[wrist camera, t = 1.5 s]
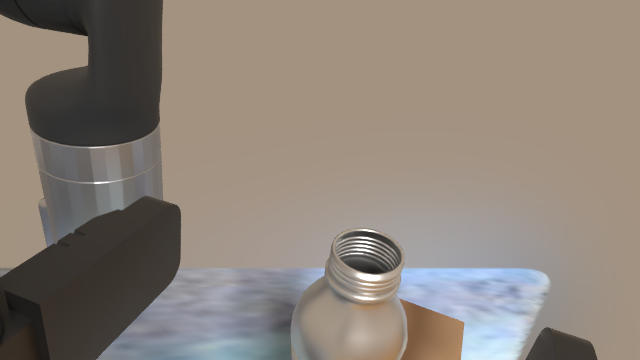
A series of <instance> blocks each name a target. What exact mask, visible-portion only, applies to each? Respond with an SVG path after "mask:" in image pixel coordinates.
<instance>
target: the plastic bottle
mask: <svg viewBox="0 0 640 360" xmlns="http://www.w3.org/2000/svg"><path fill="white" fill-rule="evenodd" d="M403 265H404V253H403V250H402V248H401V246H400V245H399V244H398V243H397V242H396V241H395V240H394V239H392V238H391V237H389V236H387V235H386V234H384V233H381V232H379V231H376V230H372V229H365V228H357V229H350V230H346V231H344V232H342V233H340V234H339V235H338V236H337V237H336V238H335V240H334V241H333V243H332V246H331V252H330V257H329V259H328V260H327V263H326V267H325V275H324V276H323V277H321V278H320V279H319V280H317V281H316V282H315V283H313V284H312V285H311V286H309V288H308V289H307V290H306V291H305V292H304V293H303V295H302V297H301V298H300V300H299V301H298V303H297V305H296V307H295V309H294V311H293V315H292V322H291V360H400V359H401V357H402V355H403V353H404V351H405V349H406V345H407V340H408V335H407V317H406V314H405V311H404V308H403V306H402V304H401V302H400V300H399V298H398V296H397V294H396V293H397V292H398V288H399V285H400V281H401V272H402V268H403Z"/></svg>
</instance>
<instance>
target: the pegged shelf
mask: <svg viewBox="0 0 640 360" xmlns="http://www.w3.org/2000/svg"><path fill="white" fill-rule="evenodd" d="M399 300H400V302H401V304H402V306H403V308H404V311H405V314H406V317H407V335H408V340H407V345H406V349H405V351H404V353H403V355H402V357H401V359H400V360H461V351H462V340H463V330H464V322H462V321H459V320H457V319H454V318H451V317H448V316H446V315H443V314H440V313H437V312H435V311H432V310H429V309H426V308H424V307H421V306H418V305H415V304H413V303H410V302H407V301H404V300H402V299H399Z"/></svg>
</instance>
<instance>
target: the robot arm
mask: <svg viewBox="0 0 640 360" xmlns="http://www.w3.org/2000/svg"><path fill="white" fill-rule="evenodd" d="M162 10H163V0H0V14H1V15H3V16H5V17H7V18H9V19H11V20H14V21H17V22H20V23H23V24H25V25H29V26H32V27H37V28H42V29H49V30H54V31H60V32H66V33H72V34H77V35H84V36H88V44H89V54H88V57H89V58H88V66H85V67H79V68H74V69H69V70H64V71H59V72H56V73H53V74H50V75H47V76H45V77H42V78H41V79H39V80H37V81H35V82H34V83H33V84H32V85H31V86H30V87H29V88H28V90H27V92H26V97H25V103H26V110H27V115H28V120H29V125H30V130H31V135H32V140H33V145H34V150H35V155H36V159H37V163H38V168H39V173H40V178H41V183H42V188H43V193H44V198H43V199H41V200H40V202H39V211H40V216H41V220H42V225H43V230H44V234H45V239H46V244H47V248H46V249H44V250H42V251H41V252H39V253H38V254H36V255H35V256H33V257H32V258H30V259H28V260H27V261H25V262H24V263H22V264H21V265H19V266H18V267H16V268H14V269H13V270H11V271H10V272H8V273H7V274H5V275H4V276H2V277H0V360H96V359H97V358H98V357H99V356H100V355H101V353H102V352H103V351H104V350H105V349H106V348H107V347H108V346H109V345H110V344H111V343H112V342H113V341H114V340H115V339H116V338H117V337H118V336H119V335H120V334H121V333H122V332H123V331H124V330H125V329H126V328H127V327H128V326H129V325H130V324H131V323H132V322H133V321H134V320H135V319H136V318H137V317H138V316H139V315H140V314H141V313H142V312H143V311H144V310H145V309H146V308H147V307H148V306H149V305H150V304H151V303H152V302H153V301H154V300H155V298H156V297H157V296H158V295H159V294H160V293H161V292H162V291H163V290H164V289H165V288H166V287H167V286H168V285H169V284H170V283H171V282H172V280H173V279H174V277H175V275H176V273H177V270H178V268H179V264H180V250H181V249H180V247H181V246H180V245H181V212H180V209H179V207H178V206H177V205H175V204H172V203H169V202H166V201H163V187H162V164H161V163H162V162H161V141H160V116H159V102H160V92H161V81H162ZM526 360H597V357H596V353H595V350H594V347H593V345H592V344H591V342H589V341H588V340H585V339H581V338H579V337H575V336H572V335H569V334H566V333H563V332H560V331H557V330H554V329H551V328H544V329H543V330H542V331H541V333H540V334H539V336H538V338H537V339H536V341H535V343H534V345H533V347H532V349H531V351H530V352H529V354H528V356H527V358H526Z"/></svg>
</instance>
